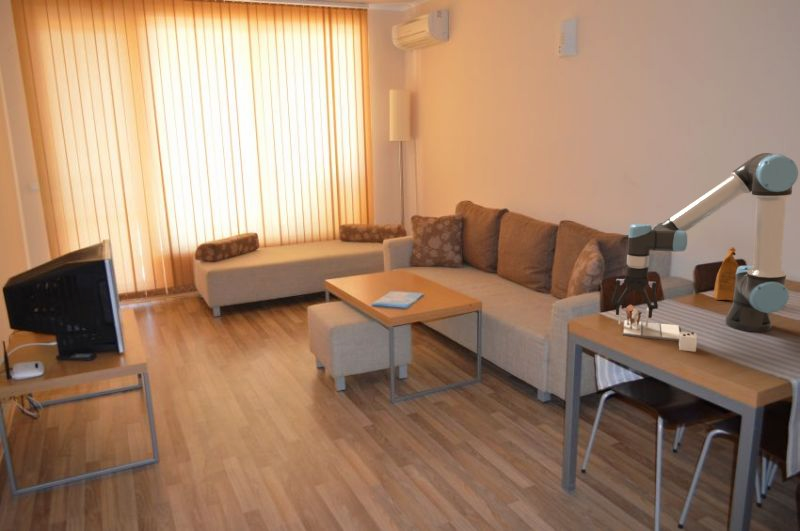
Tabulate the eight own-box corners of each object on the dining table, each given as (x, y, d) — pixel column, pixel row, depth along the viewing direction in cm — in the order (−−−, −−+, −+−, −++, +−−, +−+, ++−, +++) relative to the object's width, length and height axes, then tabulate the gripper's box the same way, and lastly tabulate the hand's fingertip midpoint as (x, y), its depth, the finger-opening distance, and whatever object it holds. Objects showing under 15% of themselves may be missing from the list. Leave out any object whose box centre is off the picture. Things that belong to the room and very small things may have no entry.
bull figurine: (629, 332, 221) (630, 311, 219) (624, 321, 234) (625, 300, 232) (641, 333, 220) (643, 311, 219) (636, 321, 233) (637, 301, 231)
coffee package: (739, 296, 268) (745, 247, 263) (738, 303, 257) (744, 252, 252) (714, 293, 273) (719, 245, 268) (712, 300, 262) (717, 250, 257)
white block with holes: (694, 346, 209) (695, 331, 208) (695, 351, 205) (697, 336, 204) (678, 345, 211) (679, 330, 210) (679, 350, 207) (680, 334, 205)
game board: (678, 327, 229) (678, 325, 229) (681, 341, 214) (681, 338, 214) (623, 322, 236) (624, 319, 236) (622, 335, 221) (622, 332, 221)
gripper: (668, 265, 221) (663, 324, 226) (606, 261, 229) (603, 318, 234) (669, 270, 215) (664, 330, 220) (605, 266, 222) (602, 324, 227)
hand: (632, 324), depth 227 cm, fingers open, 9 cm apart
